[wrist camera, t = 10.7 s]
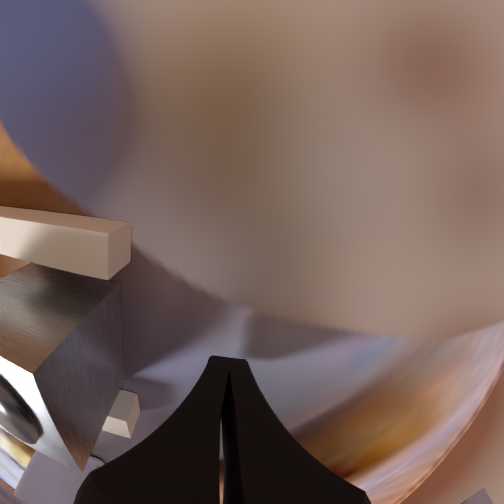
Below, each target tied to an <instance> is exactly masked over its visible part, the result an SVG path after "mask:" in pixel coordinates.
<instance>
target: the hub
mask: <svg viewBox="0 0 504 504" xmlns="http://www.w3.org/2000/svg"><path fill="white" fill-rule="evenodd" d="M126 377H127V375H126V366H125V357H124V347H123V335H122V320H121V293H120V283H119V282H114V281H110V280H104V279H99V278H95V277H90V276H86V275H81V274H77V273H72V272H68V271H64V270H60V269H56V268H52V267H48V266H44V265H40V264H36V263H32V262H31V263H29V264H27V265H25V266H23V267H21V268H19V269H18V270H16V271H14V272H12V273H10V274H8V275H6V276H5V277H3V278H1V279H0V427H1V428H3V429H4V430H5V431H7V432H8V433H10V434H11V435H13V436H14V437H16V438H17V439H19V440H20V441H22V442H24V443H25V444H27V445H28V446H30V447H32V448H34V449H35V450H37V451H39V452H41V453H42V454H44V455H46V456H48V457H50V458H52V459H54V460H56V461H58V462H60V463H62V464H64V465H66V466H68V467H70V468H72V469H74V470H77V471H79V472H81V473H83V471H84V468H85V466H86V464H87V461H88V459H89V457H90V454H91V452H92V450H93V447H94V445H95V443H96V440H97V438H98V436H99V434H100V432H101V429H102V427H103V425H104V423H105V421H106V419H107V416H108V414H109V412H110V410H111V408H112V406H113V404H114V402H115V400H116V398H117V395H118V393H119V391H120V389H121V387H122V385H123V383H124V381H125V379H126Z"/></svg>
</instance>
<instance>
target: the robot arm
mask: <svg viewBox="0 0 504 504" xmlns="http://www.w3.org/2000/svg"><path fill="white" fill-rule="evenodd" d="M221 418H222V439H223V456H224V490H223V504H371V502H370V500H369V498H368V496H367V495H366V492H365V491H363V490H361V489H360V488H358V487H356V486H354V485H352V484H351V483H349V482H347V481H345V480H344V479H342V478H340V477H339V476H337V475H336V474H334V473H333V472H332V471H330V470H329V469H328V468H326V467H325V466H324V465H322V464H321V463H320V462H319V461H318V460H316V459H315V458H314V457H313V456H312V455H311V454H310V453H308V452H307V451H306V450H305V449H304V448H303V447H302V446H301V445H300V444H299V443H298V442H297V441H296V440H295V439H294V438H293V436H292V435H291V434H290V433H289V432H288V431H287V429H286V428H285V427H284V426H283V424H282V423H281V422H280V420H279V419H278V418H277V416H276V415H275V413H274V412H273V411H272V409H271V407H270V406H269V404H268V403H267V401H266V399H265V398H264V396H263V394H262V392H261V391H260V389H259V387H258V385H257V383H256V381H255V379H254V376H253V374H252V372H251V369H250V367H249V364H248V362H247V361H246V360H245V359H236V358H228V357H220V356H211V357H209V360H208V363H207V365H206V367H205V369H204V371H203V373H202V375H201V377H200V378H199V380H198V381H197V383H196V384H195V386H194V387H193V389H192V390H191V392H190V393H189V395H188V396H187V397H186V398H185V400H184V401H183V402H182V403H181V405H180V406H179V407H178V408H177V409H176V410H175V412H174V413H173V414H172V415H171V416H170V417H169V418H168V419H167V420H166V421H165V422H164V423H163V424H162V425H161V426H160V427H158V428H157V429H156V430H155V431H154V432H153V433H152V434H151V435H149V436H148V437H147V438H146V439H144V440H143V441H142V442H140V443H139V444H137V445H136V446H135V447H133V448H132V449H130V450H129V451H127V452H126V453H124V454H123V455H121V456H119V457H118V458H116V459H114V460H112V461H110V462H108V463H106V464H104V463H103V462H102V461H101V460H99V459H97V458H94V457H92V456H90V457H89V459H88V461H87V464H86V466H85V468H84V471H83V473H81V472H79V471H77V470H74V469H72V468H70V467H68V466H66V465H64V464H62V463H60V462H58V461H56V460H54V459H52V458H50V457H48V456H46V455H44V454H42V453H41V452H39V451H37V450H36V451H35V453H34V455H33V456H32V458H31V460H30V462H29V464H28V466H27V468H26V469H25V471H24V473H23V475H22V477H21V479H20V481H19V483H18V485H17V487H16V489H15V491H14V494H12V493H10V492H9V491H7V490H6V489H5V488H3V487H2V486H1V485H0V504H220V492H219V452H220V423H221ZM461 504H493V502H492V500H491V499H490V497H489V495H488V494H487V492H486V490H485V489H484V488H483V489H481V490H480V491H478V492H477V493H475V494H474V495H472V496H471V497H469V498H468V499H466V500H465V501H464V502H462V503H461Z"/></svg>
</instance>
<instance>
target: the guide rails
mask: <svg viewBox="0 0 504 504" xmlns="http://www.w3.org/2000/svg"><path fill="white" fill-rule="evenodd" d="M131 236H132V222H126V221H118V220H111V219H103V218H96V217H88V216H80V215H72V214H64V213H56V212H48V211H39V210H31V209H22V208H14V207H5V206H0V254H3V255H7V256H10V257H14V258H17V259H21V260H24V261H28V262H32V263H36V264H40V265H44V266H48V267H52V268H56V269H60V270H64V271H68V272H72V273H77V274H81V275H86V276H90V277H95V278H99V279H104V280H109V279H110V278H111V277H113V276H114V275H115V274H116V273H117V272H118V271H120V270H121V269H122V268H123V267H125V266H126V265H127V264H128V263H129V262H130V259H131ZM139 414H140V408H139V401H138V394H136V393H132V392H128V391H125V390H121V389H120V391H119V393H118V395H117V398H116V400H115V402H114V404H113V406H112V408H111V410H110V412H109V414H108V416H107V419H106V421H105V423H104V425H103V427H102V429H101V430H104V431H107V432H110V433H113V434H116V435H119V436H123V437H126V438H130V439H131V436H132V433H133V431H134V428H135V425H136V422H137V419H138V417H139Z"/></svg>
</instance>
